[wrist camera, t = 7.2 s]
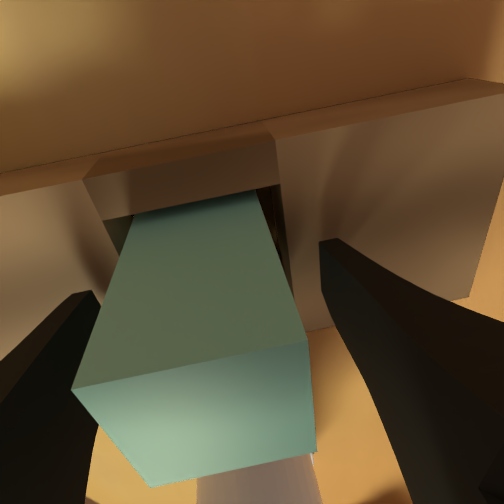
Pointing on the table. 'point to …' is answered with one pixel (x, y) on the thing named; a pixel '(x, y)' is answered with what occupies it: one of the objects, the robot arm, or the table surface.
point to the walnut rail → (273, 197)
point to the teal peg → (199, 346)
